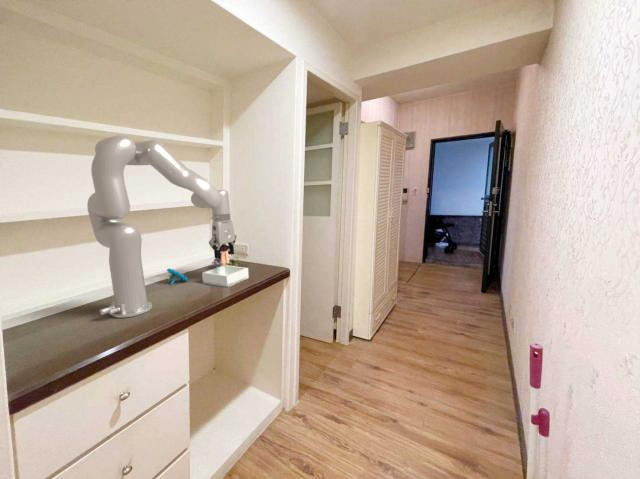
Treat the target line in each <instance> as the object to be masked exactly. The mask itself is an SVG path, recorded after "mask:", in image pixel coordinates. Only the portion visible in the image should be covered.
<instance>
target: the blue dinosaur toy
mask: <svg viewBox="0 0 640 479" xmlns="http://www.w3.org/2000/svg"><path fill="white" fill-rule="evenodd" d="M166 271H167V272H168V273H169V279H168V280H167V283H170V285H171V286H172V285H174V283H175V282H176V280H178V279H180V280H181V281H184V282H188V281H189V278H188V277H187V276H185V274H184V273H180V271H178V270H175V269H173V268H167V269H166Z"/></svg>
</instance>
